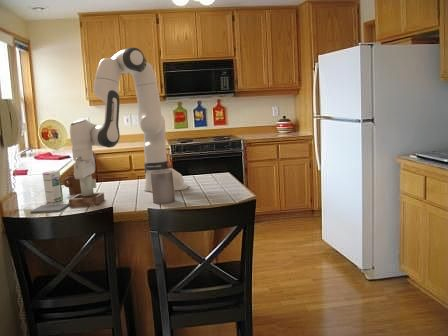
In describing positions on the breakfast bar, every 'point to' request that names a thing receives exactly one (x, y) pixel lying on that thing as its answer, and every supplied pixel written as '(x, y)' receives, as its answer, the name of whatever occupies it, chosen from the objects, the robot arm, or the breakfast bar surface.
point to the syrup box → (52, 186)
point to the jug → (88, 186)
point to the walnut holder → (86, 200)
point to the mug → (72, 184)
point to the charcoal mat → (50, 208)
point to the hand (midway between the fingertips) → (86, 185)
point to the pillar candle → (162, 186)
